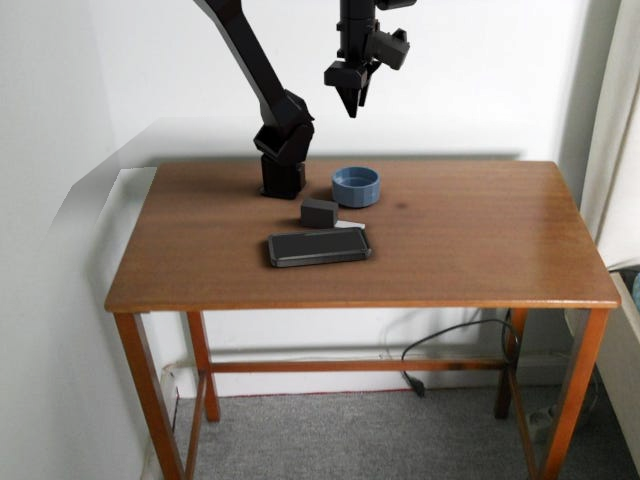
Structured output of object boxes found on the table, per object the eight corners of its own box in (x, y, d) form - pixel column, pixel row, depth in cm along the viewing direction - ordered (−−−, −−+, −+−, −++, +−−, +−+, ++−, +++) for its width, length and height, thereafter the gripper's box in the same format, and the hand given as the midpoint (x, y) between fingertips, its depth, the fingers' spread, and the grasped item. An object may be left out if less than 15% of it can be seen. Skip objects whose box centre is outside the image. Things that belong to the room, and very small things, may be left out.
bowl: (326, 205, 113) (325, 184, 110) (340, 184, 119) (339, 163, 116) (372, 212, 112) (373, 190, 109) (384, 190, 118) (385, 169, 115)
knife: (301, 225, 108) (300, 205, 106) (306, 217, 110) (305, 197, 108) (361, 234, 106) (361, 214, 104) (365, 226, 108) (365, 206, 106)
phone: (372, 252, 100) (271, 261, 98) (372, 258, 101) (272, 267, 99) (362, 225, 106) (267, 233, 104) (362, 231, 107) (267, 239, 104)
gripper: (393, 36, 99) (389, 138, 109) (418, 4, 112) (413, 98, 123) (321, 29, 101) (324, 130, 111) (354, -1, 114) (354, 91, 125)
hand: (357, 112), depth 117 cm, fingers open, 5 cm apart
